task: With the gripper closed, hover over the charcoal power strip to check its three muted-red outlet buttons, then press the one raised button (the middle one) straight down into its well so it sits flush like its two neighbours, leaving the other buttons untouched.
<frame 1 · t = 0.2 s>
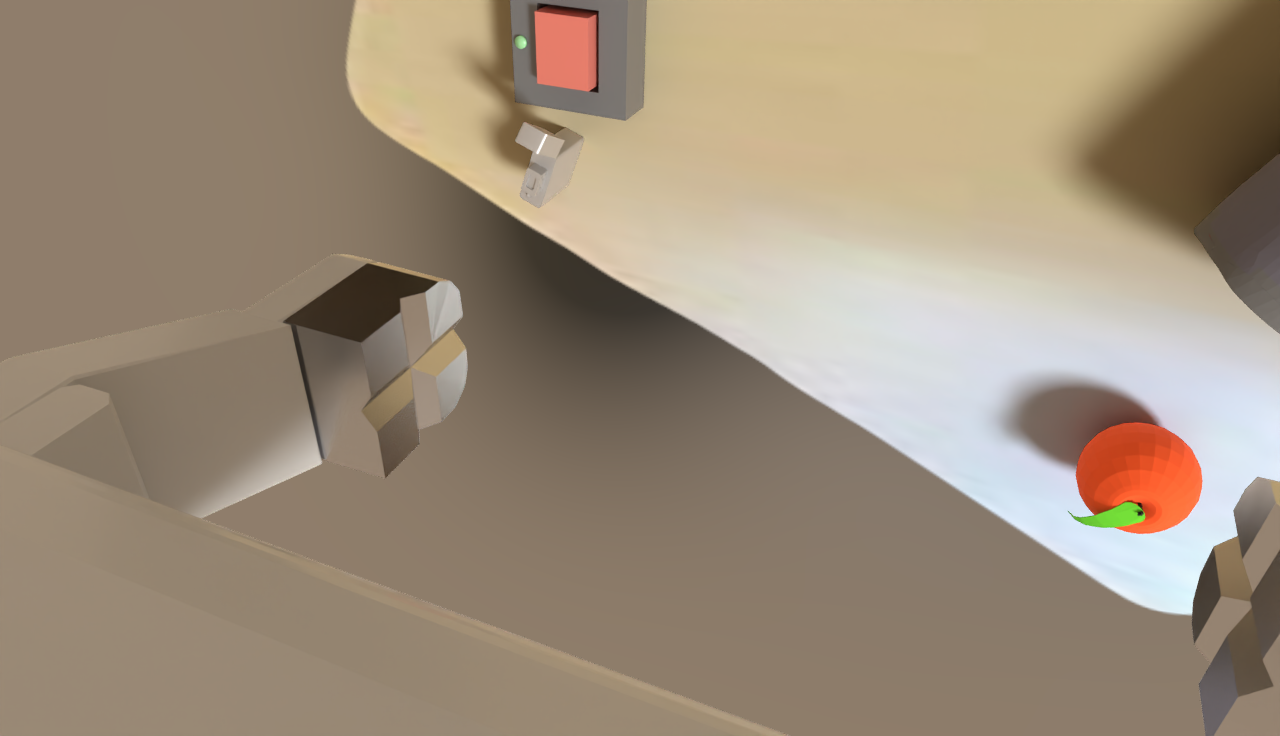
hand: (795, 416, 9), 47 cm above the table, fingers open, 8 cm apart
button 3: (572, 46, 57), point 2 cm above the table, slide at -1.5 cm
lighter: (573, 138, 63), on the table
clementine: (1126, 446, 59), on the table
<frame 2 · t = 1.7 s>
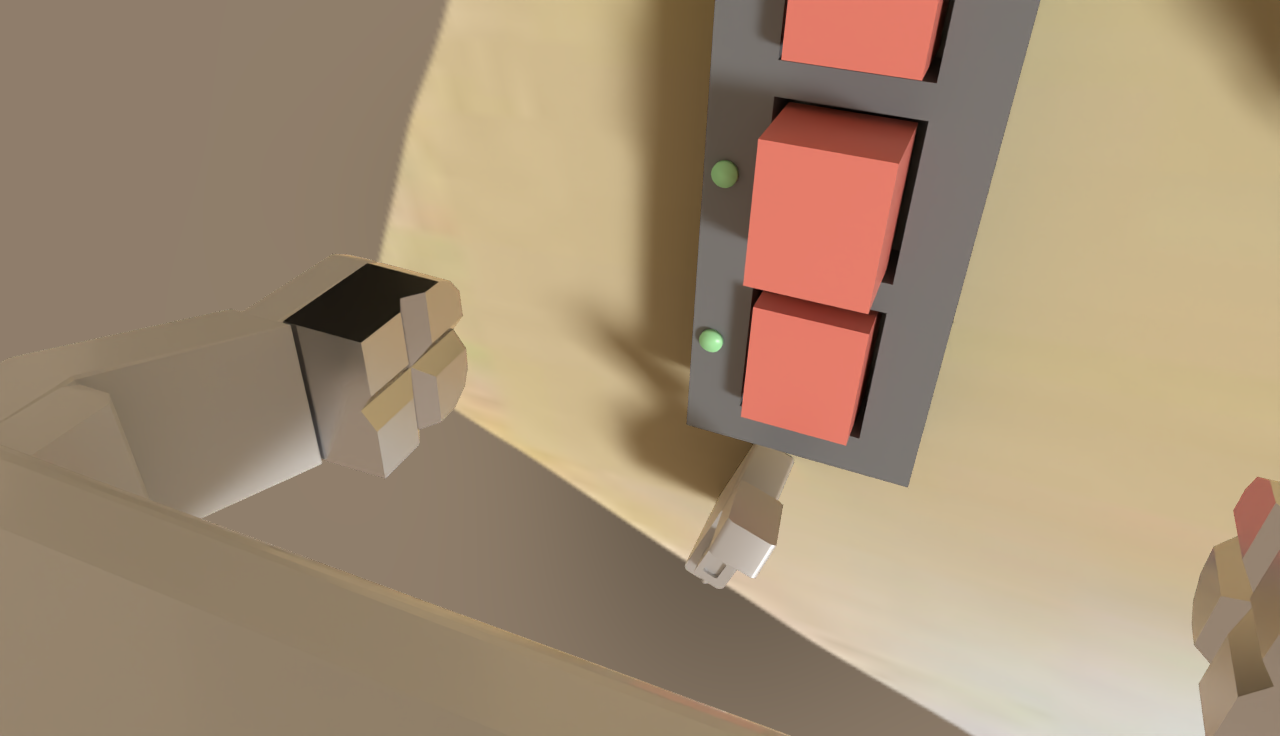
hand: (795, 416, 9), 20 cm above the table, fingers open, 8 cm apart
button 3: (812, 353, 30), point 2 cm above the table, slide at -1.5 cm
lighter: (772, 454, 36), on the table
power strip: (857, 155, 28), on the table
button 2: (828, 206, 25), point 4 cm above the table, slide at 0.0 cm
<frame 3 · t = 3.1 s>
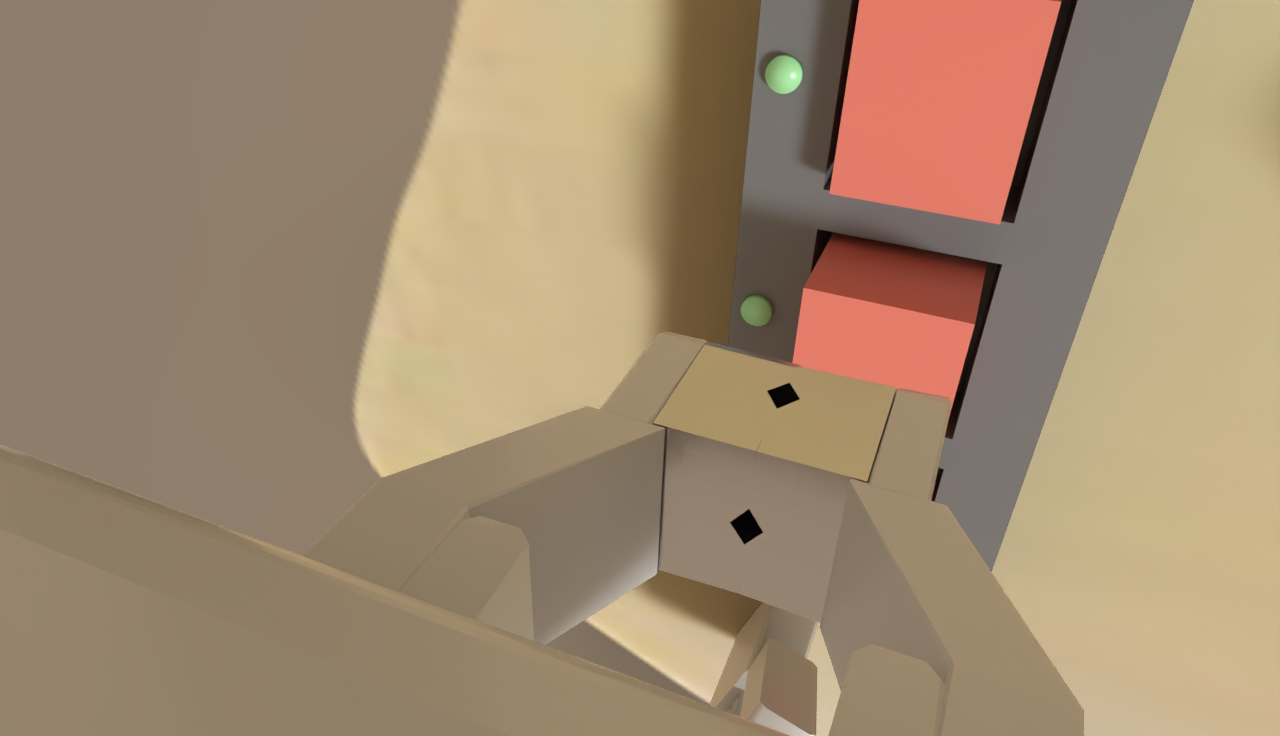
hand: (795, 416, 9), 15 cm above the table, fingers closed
button 1: (943, 86, 19), point 2 cm above the table, slide at -1.5 cm
lighter: (798, 592, 32), on the table
power strip: (906, 283, 24), on the table
button 2: (880, 356, 21), point 4 cm above the table, slide at 0.0 cm
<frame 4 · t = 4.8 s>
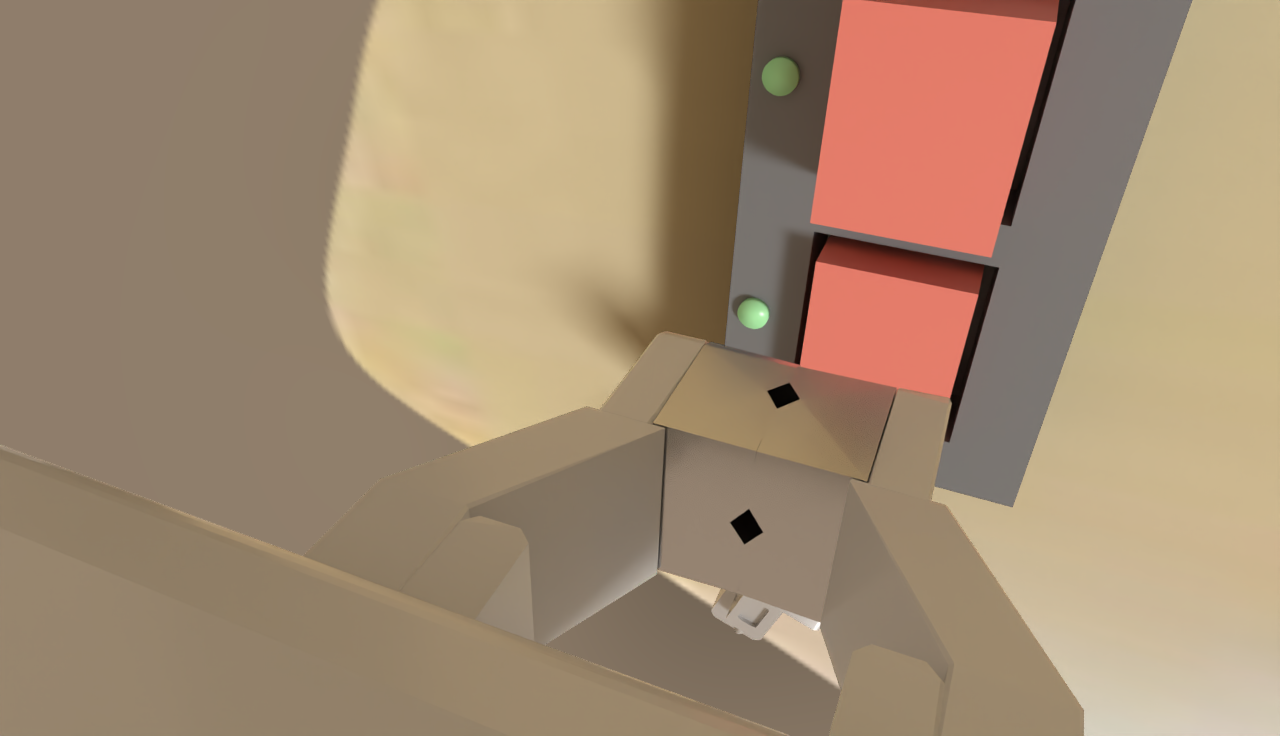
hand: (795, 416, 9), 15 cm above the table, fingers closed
button 3: (888, 329, 23), point 2 cm above the table, slide at -1.5 cm
lighter: (819, 468, 29), on the table
power strip: (952, 61, 21), on the table
button 2: (930, 109, 18), point 4 cm above the table, slide at 0.0 cm
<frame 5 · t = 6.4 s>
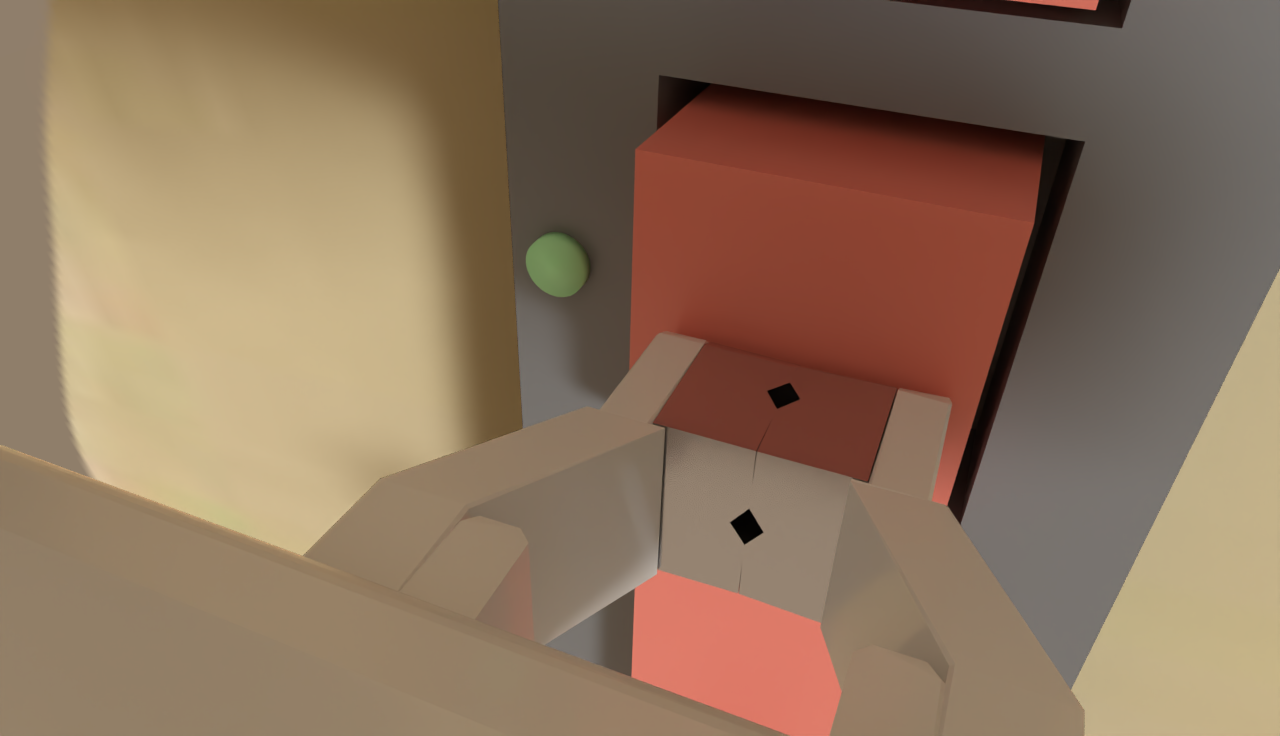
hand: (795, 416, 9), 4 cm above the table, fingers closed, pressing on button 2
button 3: (774, 625, 14), point 2 cm above the table, slide at -1.5 cm
power strip: (869, 218, 13), on the table
button 2: (823, 314, 10), point 3 cm above the table, slide at -1.1 cm, touching gripper
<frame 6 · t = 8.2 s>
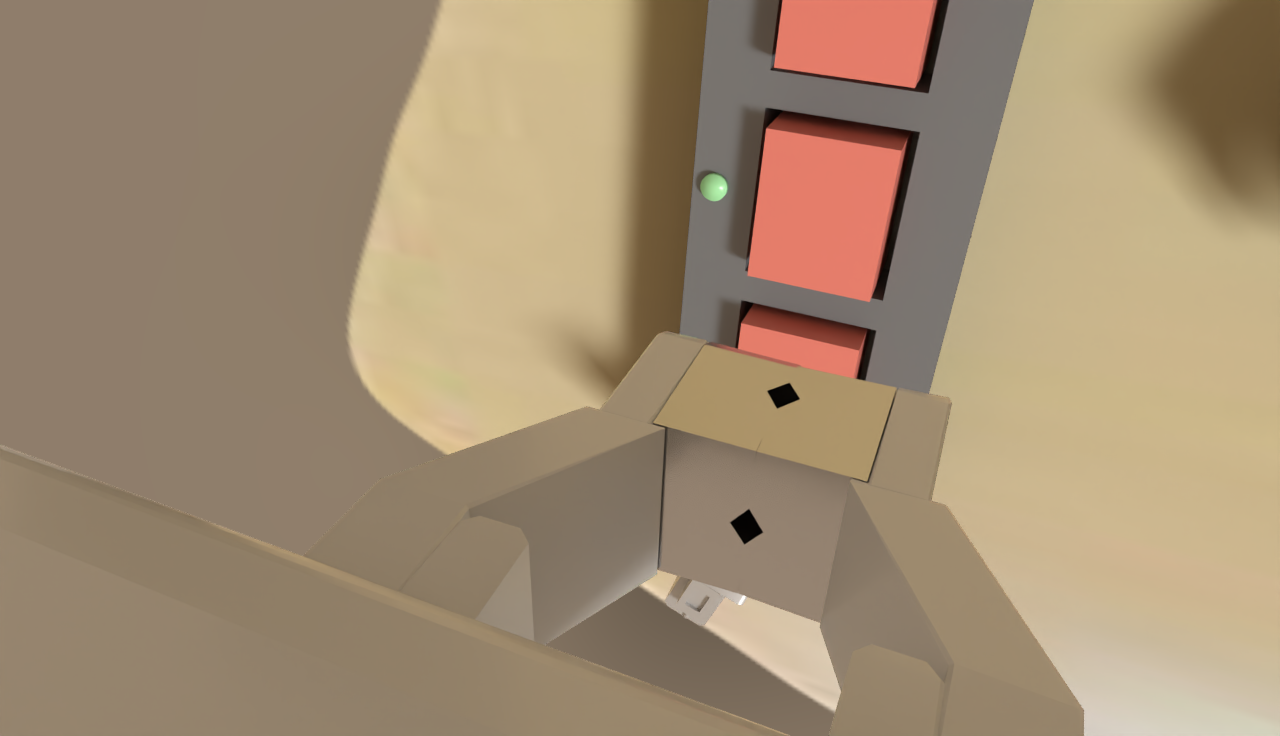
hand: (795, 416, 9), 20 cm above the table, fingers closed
button 3: (799, 374, 29), point 2 cm above the table, slide at -1.5 cm
lighter: (755, 486, 35), on the table
power strip: (845, 174, 28), on the table
button 2: (830, 199, 26), point 2 cm above the table, slide at -1.5 cm
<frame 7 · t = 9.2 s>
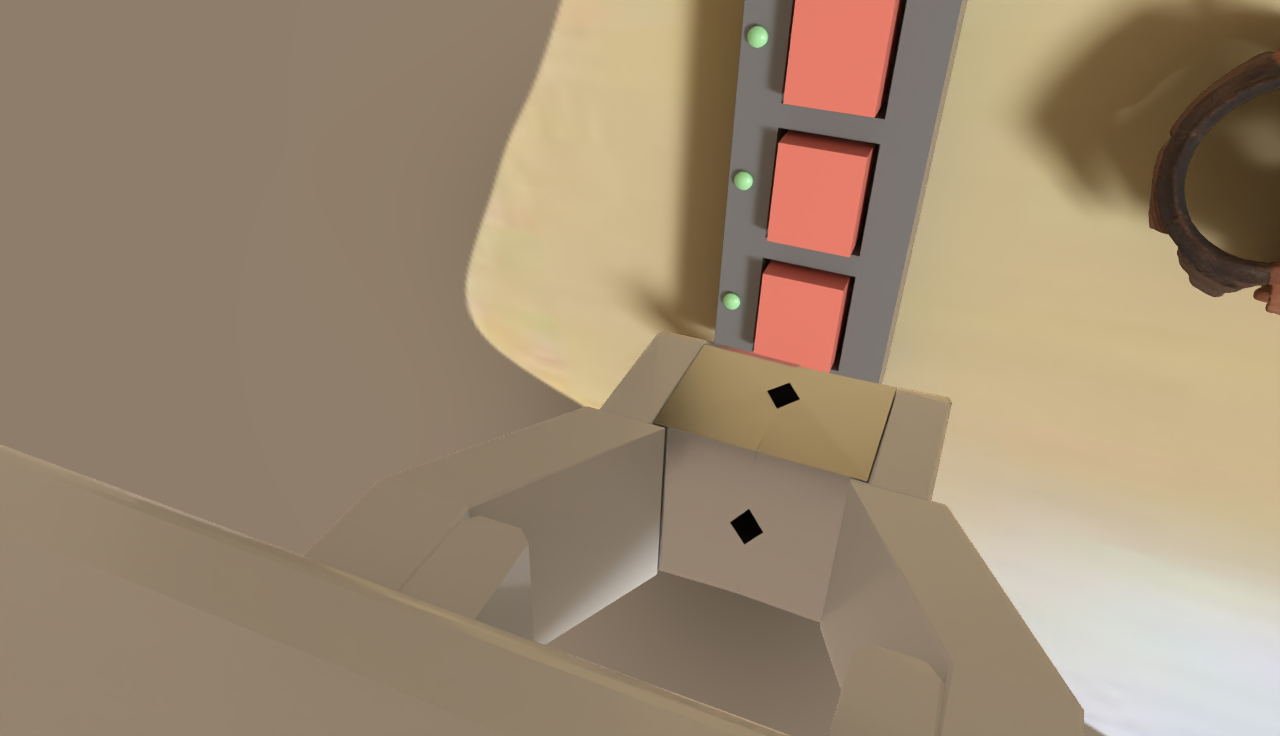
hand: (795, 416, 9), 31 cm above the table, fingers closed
button 3: (804, 309, 42), point 2 cm above the table, slide at -1.5 cm
button 1: (844, 43, 35), point 2 cm above the table, slide at -1.5 cm
power strip: (835, 168, 40), on the table
button 2: (822, 188, 38), point 2 cm above the table, slide at -1.5 cm
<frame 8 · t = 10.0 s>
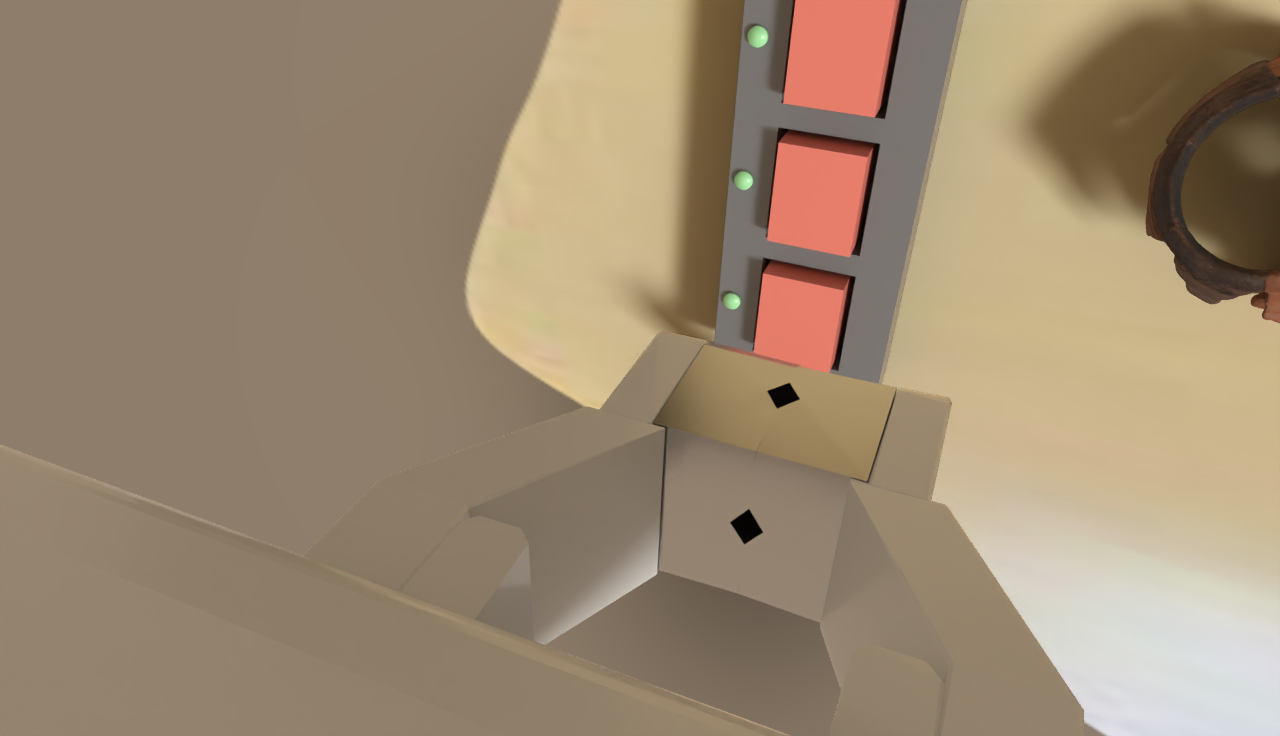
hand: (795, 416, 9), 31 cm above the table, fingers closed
button 3: (804, 309, 42), point 2 cm above the table, slide at -1.5 cm
button 1: (845, 43, 35), point 2 cm above the table, slide at -1.5 cm
power strip: (835, 168, 40), on the table
button 2: (823, 187, 38), point 2 cm above the table, slide at -1.5 cm
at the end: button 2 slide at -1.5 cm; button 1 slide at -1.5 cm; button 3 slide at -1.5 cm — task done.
